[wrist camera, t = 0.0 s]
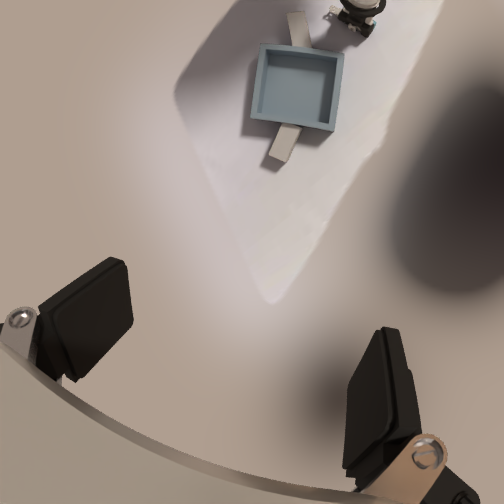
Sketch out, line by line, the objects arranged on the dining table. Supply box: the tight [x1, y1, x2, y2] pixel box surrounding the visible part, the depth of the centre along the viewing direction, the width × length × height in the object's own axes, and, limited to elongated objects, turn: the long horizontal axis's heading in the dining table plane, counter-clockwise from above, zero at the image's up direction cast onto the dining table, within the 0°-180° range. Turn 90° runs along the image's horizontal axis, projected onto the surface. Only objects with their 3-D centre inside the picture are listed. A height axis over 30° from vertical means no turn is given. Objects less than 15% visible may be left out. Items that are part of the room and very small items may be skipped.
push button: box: [329, 0, 386, 38], centre depth 22 cm, size 7×5×10 cm
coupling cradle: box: [250, 11, 344, 162], centre depth 31 cm, size 22×11×3 cm, turn 173°
